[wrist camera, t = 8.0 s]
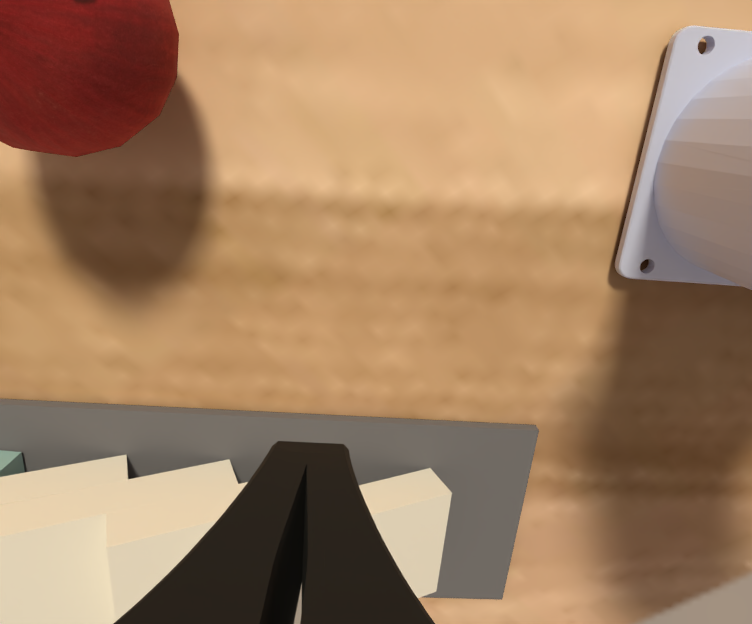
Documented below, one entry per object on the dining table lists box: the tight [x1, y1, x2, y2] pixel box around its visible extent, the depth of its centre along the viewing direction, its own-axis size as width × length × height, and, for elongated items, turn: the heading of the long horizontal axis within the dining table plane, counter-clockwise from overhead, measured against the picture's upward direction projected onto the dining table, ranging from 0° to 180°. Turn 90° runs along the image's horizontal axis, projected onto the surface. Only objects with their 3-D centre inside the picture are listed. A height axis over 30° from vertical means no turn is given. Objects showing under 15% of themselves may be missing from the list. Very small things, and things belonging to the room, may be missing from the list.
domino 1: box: [0, 455, 129, 505], centre depth 19 cm, size 2×5×8 cm
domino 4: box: [294, 468, 452, 624], centre depth 20 cm, size 2×5×8 cm
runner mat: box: [0, 399, 539, 599], centre depth 22 cm, size 22×9×1 cm, turn 85°
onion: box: [0, 0, 179, 157], centre depth 12 cm, size 6×6×8 cm
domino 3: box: [106, 482, 248, 621], centre depth 20 cm, size 2×5×8 cm
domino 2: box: [0, 459, 238, 624], centre depth 19 cm, size 2×5×8 cm
